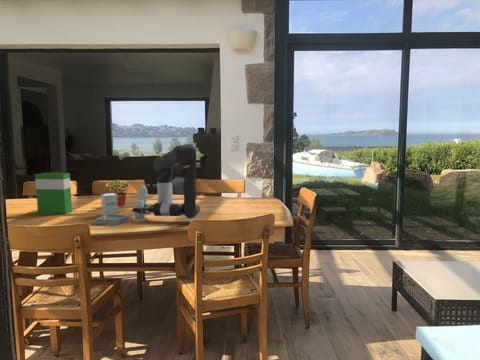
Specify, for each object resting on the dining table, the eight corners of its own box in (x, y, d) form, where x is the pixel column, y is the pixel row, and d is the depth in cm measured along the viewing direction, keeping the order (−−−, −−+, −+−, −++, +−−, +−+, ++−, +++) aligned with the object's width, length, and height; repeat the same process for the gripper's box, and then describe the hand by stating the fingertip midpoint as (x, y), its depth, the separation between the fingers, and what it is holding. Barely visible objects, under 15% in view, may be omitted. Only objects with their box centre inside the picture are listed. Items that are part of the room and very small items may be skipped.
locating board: (108, 217, 231) (108, 209, 230) (131, 218, 228) (131, 210, 227) (91, 224, 213) (91, 216, 213) (115, 225, 211) (115, 217, 210)
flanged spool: (136, 218, 229) (135, 199, 227) (149, 218, 227) (148, 199, 226) (129, 221, 221) (129, 201, 219) (143, 221, 219) (142, 202, 218)
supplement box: (105, 217, 231) (104, 195, 229) (101, 215, 237) (100, 194, 235) (118, 215, 235) (117, 194, 233) (114, 213, 241) (113, 192, 239)
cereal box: (37, 213, 241) (35, 174, 238) (45, 211, 248) (42, 172, 245) (65, 214, 239) (63, 174, 236) (72, 211, 247) (69, 173, 243)
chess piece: (138, 207, 259) (138, 184, 257) (152, 207, 257) (151, 184, 255) (130, 210, 250) (130, 186, 248) (145, 211, 247) (144, 187, 245)
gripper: (168, 200, 227) (141, 199, 230) (158, 205, 213) (130, 204, 216) (168, 213, 228) (141, 212, 231) (158, 219, 214) (130, 217, 217)
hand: (136, 208), depth 223 cm, fingers open, 8 cm apart
